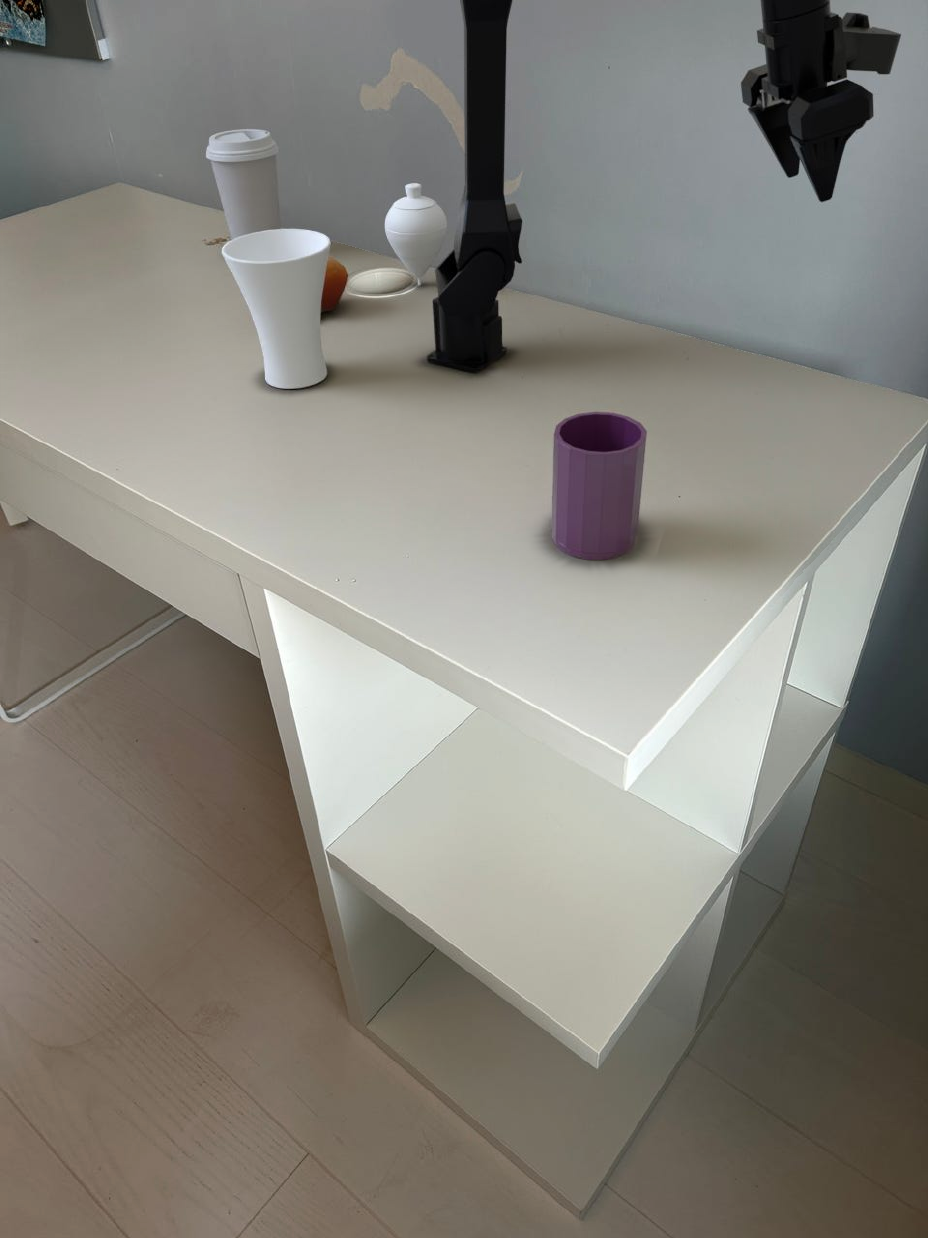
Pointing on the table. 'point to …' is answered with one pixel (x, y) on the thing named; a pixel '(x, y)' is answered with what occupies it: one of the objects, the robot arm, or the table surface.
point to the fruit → (333, 284)
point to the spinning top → (416, 230)
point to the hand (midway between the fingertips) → (808, 187)
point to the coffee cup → (246, 179)
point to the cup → (284, 299)
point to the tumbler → (597, 484)
